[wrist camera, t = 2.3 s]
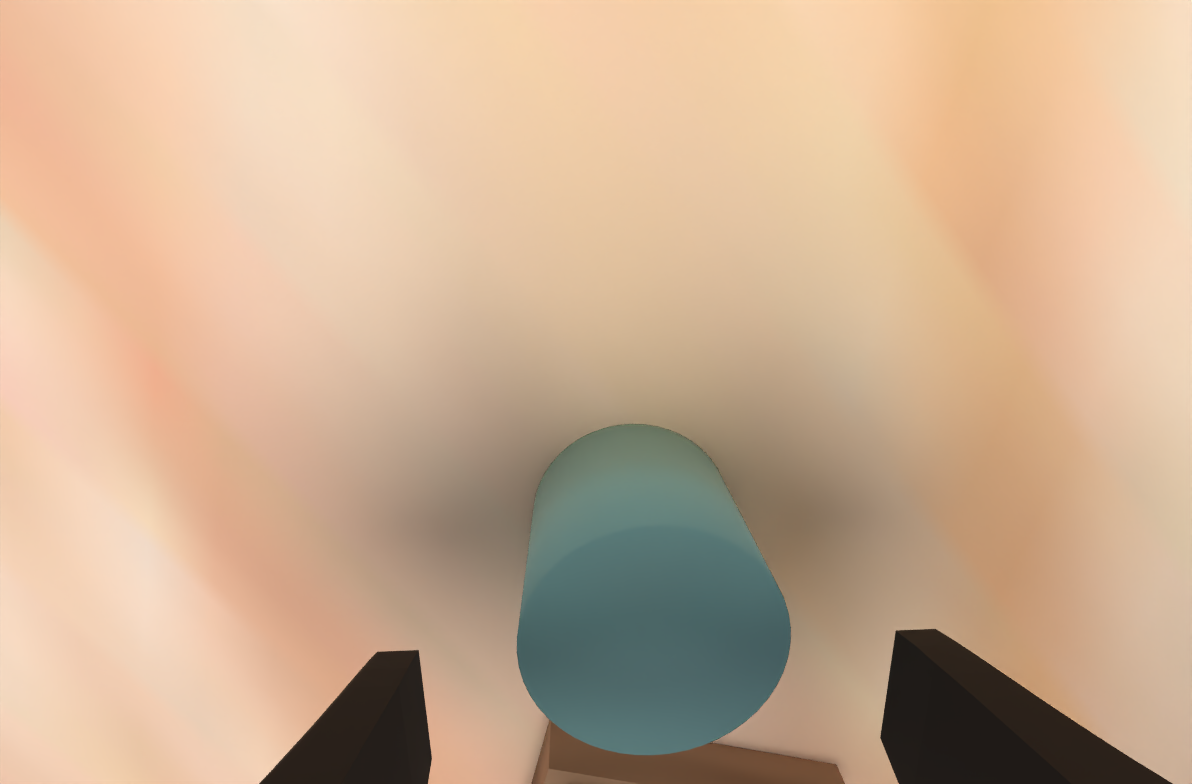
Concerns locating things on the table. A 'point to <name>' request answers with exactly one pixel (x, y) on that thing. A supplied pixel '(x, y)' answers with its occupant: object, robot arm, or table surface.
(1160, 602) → the table surface
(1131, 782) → the robot arm
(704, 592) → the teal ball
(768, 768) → the walnut slab
